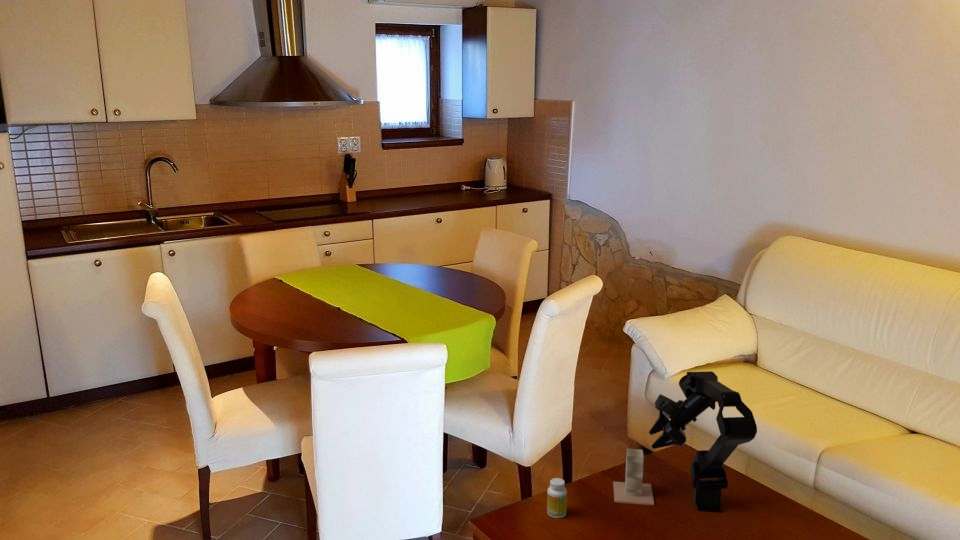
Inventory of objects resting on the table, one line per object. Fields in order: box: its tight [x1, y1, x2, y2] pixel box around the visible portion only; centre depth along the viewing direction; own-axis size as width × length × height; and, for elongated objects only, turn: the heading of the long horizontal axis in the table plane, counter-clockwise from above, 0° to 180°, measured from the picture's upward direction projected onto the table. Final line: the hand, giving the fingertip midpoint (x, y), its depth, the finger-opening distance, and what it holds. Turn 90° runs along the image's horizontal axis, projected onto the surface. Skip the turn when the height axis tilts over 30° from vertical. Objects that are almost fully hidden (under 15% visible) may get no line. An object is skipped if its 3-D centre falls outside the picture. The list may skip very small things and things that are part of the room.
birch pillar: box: [624, 448, 644, 497], centre depth 208 cm, size 4×4×12 cm
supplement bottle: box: [546, 477, 568, 519], centre depth 199 cm, size 5×5×10 cm
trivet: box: [612, 481, 655, 506], centre depth 210 cm, size 11×11×1 cm
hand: (651, 440), depth 213 cm, fingers open, 9 cm apart
